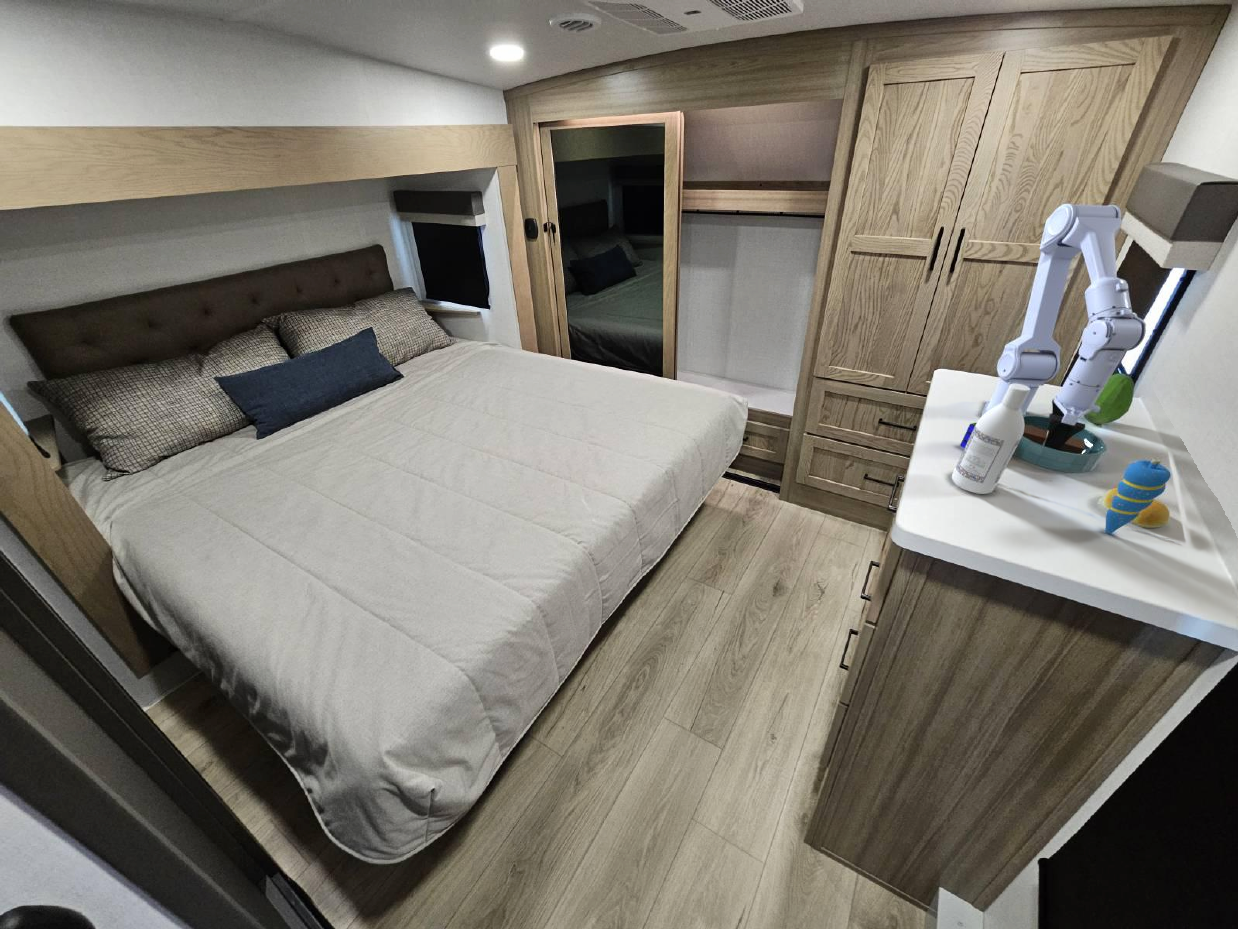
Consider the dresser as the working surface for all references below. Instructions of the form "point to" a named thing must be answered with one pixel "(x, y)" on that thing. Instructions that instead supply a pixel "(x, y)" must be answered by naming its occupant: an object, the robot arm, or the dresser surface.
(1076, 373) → the robot arm
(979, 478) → the bath foam
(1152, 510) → the bread roll
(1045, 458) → the bowl
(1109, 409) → the avocado
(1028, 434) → the snack bar
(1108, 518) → the ornament
